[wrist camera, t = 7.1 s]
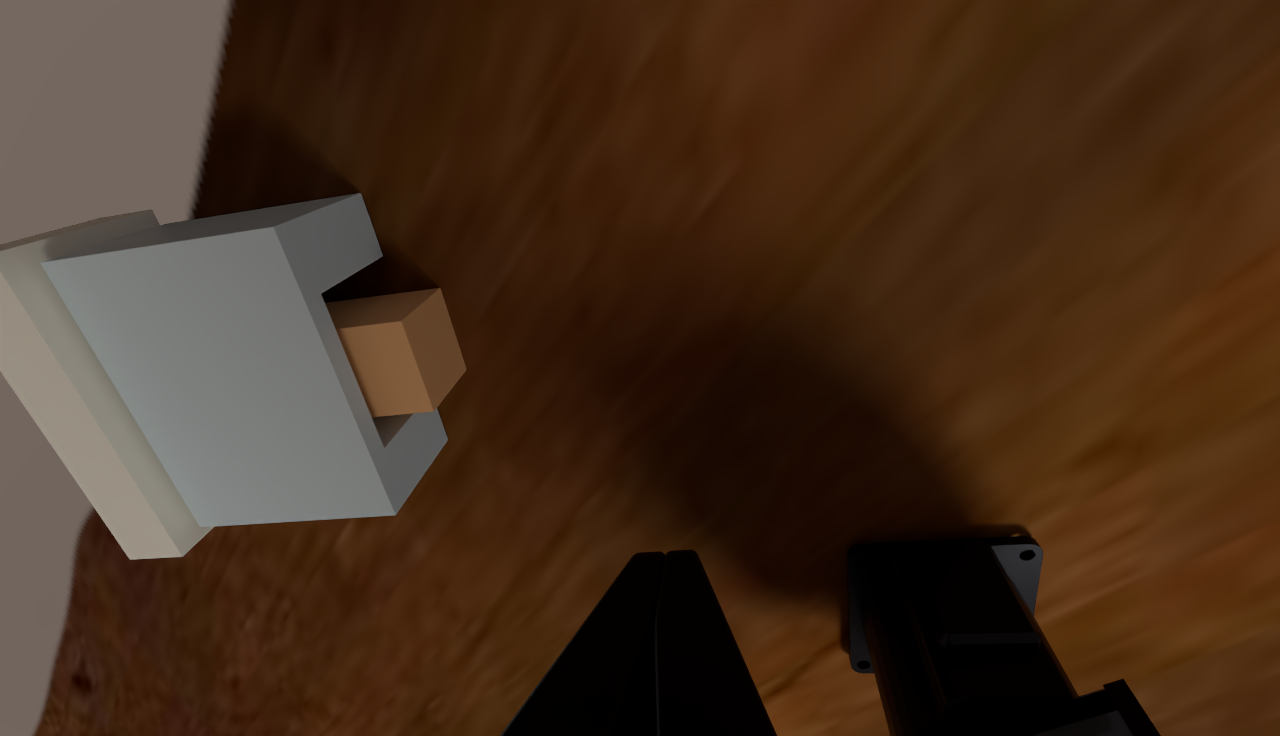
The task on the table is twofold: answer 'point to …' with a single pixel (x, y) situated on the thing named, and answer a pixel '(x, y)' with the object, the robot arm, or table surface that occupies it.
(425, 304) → the tan rectangular brick
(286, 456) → the sled
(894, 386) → the table surface
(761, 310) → the table surface
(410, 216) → the table surface
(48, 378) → the wall
